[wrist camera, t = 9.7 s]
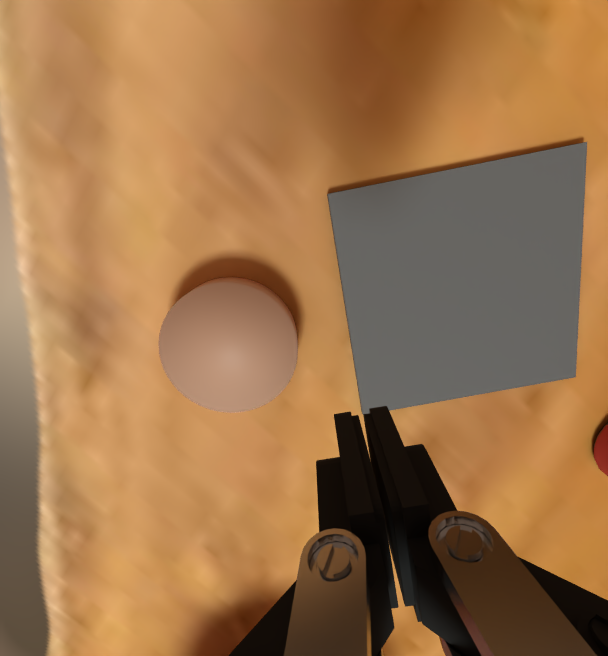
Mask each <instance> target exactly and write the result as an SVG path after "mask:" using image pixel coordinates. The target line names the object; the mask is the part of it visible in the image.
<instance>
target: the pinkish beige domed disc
mask: <svg viewBox="0 0 608 656" xmlns="http://www.w3.org/2000/svg"><path fill="white" fill-rule="evenodd" d="M159 354H160V359H161V363H162V366H163V368H164V371H165V373H166V375H167V376H168V378H169V379H170V381H171V382H172V384H173V385H174V386H175V387H176V388H177V390H178V391H179V392H181V393H182V394H183V395H184V396H185V397H187V398H188V399H189V400H191V401H192V402H194V403H196V404H198V405H200V406H202V407H205V408H207V409H211V410H214V411H220V412H230V413H235V412H244V411H249V410H253V409H256V408H259V407H261V406H263V405H265V404H267V403H268V402H270V401H272V400H273V399H274V398H275V397H277V396H278V395H279V394H280V393H281V392H282V391H283V390H284V389H285V387H286V386H287V384H288V383H289V381H290V379H291V377H292V376H293V373H294V370H295V367H296V363H297V355H298V341H297V330H296V325H295V322H294V319H293V316H292V314H291V312H290V310H289V309H288V307H287V306H286V304H285V303H284V302H283V301H282V299H281V298H280V297H279V296H278V295H277V294H275V293H274V292H273V291H272V290H270V289H269V288H267V287H266V286H264V285H262V284H260V283H258V282H255V281H252V280H249V279H245V278H239V277H224V278H218V279H213V280H210V281H207V282H205V283H203V284H201V285H199V286H197V287H196V288H194V289H193V290H192V291H190V292H189V293H187V294H186V295H185V296H183V297H182V298H180V299H179V300H178V301H177V302H176V303H175V304H174V305H173V307H172V308H171V309H170V310H169V312H168V314H167V315H166V317H165V319H164V321H163V324H162V326H161V330H160V335H159Z"/></svg>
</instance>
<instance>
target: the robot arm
mask: <svg viewBox="0 0 608 656" xmlns="http://www.w3.org/2000/svg"><path fill="white" fill-rule="evenodd" d="M369 412H370V413H368V414H364V422H365V428H366V434H367V441H368V447H369V453H370V457H369V454H368V450H367V446H366V442H365V439H364V435H363V431H362V427H361V424H360V420H359V416H358V415H355V416H352V415H351V412H345V413H339V414H334V419H335V426H336V433H337V440H338V447H339V454H340V457H337V458H330V459H324V460H318V461H316V469H317V491H318V512H319V533H317V534H316V535H314V536H313V537H312V538H311V539H309V541H308V542H307V543H306V545H305V546H304V548H303V551H302V554H301V558H300V564H299V570H298V576H297V580H296V581H295V583H294V584H293V585H292V586H291V587H290V588H289V589H288V590H287V591H286V593H285V594H284V595H283V596H282V597H281V598H280V599H279V600H278V601H277V603H276V604H275V605H274V606H273V607H272V608H271V609H270V610H269V611H268V612H267V614H266V615H265V616H264V617H263V618H262V619H261V620H260V621H259V622H258V624H257V625H256V626H255V627H254V628H253V629H252V630H251V631H250V632H249V634H248V635H247V636H246V637H245V638H244V639H243V640H242V641H241V642H240V644H239V645H238V646H237V647H236V648H235V649H234V650H233V651H232V652H231V654H230V655H229V656H384V654H383V648H382V647H383V645H384V644H385V642H386V640H387V639H388V637H389V636H390V634H391V632H392V631H393V629H394V622H393V616H392V610H391V608H398V601H397V595H396V588H395V582H394V575H393V568H392V562H391V555H390V549H391V553H392V557H393V561H394V565H395V569H396V573H397V577H398V581H399V584H400V588H401V592H402V596H403V600H404V604H405V606H414V609H415V613H416V616H417V620H418V622H421V621H422V624H423V625H425V626H426V627H427V628H429V629H430V630H431V631H433V632H434V633H436V634H437V635H438V636H439V639H440V642H441V645H442V648H443V651H444V653H445V655H446V656H608V600H606V599H603V598H601V597H599V596H597V595H595V594H593V593H591V592H589V591H587V590H585V589H583V588H581V587H579V586H577V585H575V584H573V583H571V582H569V581H567V580H565V579H562V578H560V577H558V576H556V575H554V574H552V573H550V572H548V571H546V570H544V569H542V568H540V567H538V566H536V565H534V564H532V563H530V562H528V561H526V560H524V559H521V558H519V557H517V556H516V554H515V553H514V552H513V551H512V549H511V548H510V547H509V546H508V544H507V543H506V542H505V541H504V539H503V538H502V537H501V536H500V535H499V533H498V532H497V531H496V530H495V528H494V527H493V526H491V525H490V524H489V523H488V522H487V521H486V520H484V519H483V518H481V517H479V516H478V515H475V514H472V513H469V512H464V511H457V509H456V507H455V505H454V503H453V501H452V499H451V497H450V495H449V493H448V492H447V490H446V488H445V486H444V484H443V482H442V480H441V478H440V476H439V474H438V472H437V470H436V468H435V466H434V464H433V462H432V460H431V458H430V457H429V455H428V453H427V451H426V449H425V447H424V445H422V444H419V445H413V446H406V447H404V445H403V442H402V440H401V438H400V435H399V433H398V431H397V428H396V426H395V424H394V421H393V419H392V417H391V414H390V412H389V410H388V407H387V406H381V407H375V408H369ZM370 460H371V461H370ZM388 541H389V542H388ZM389 545H390V549H389Z"/></svg>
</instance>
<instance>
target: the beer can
mask: <svg viewBox="0 0 608 656" xmlns="http://www.w3.org/2000/svg"><path fill="white" fill-rule="evenodd" d="M594 459H595V461H596V463H597V465H598V467H599V469H600V470H601V471H602V472H604V473H605V474H606V475H607V476H608V423H607V424H606V425H605V426H604V427H603V429H602V430H601V432H600V433H599V434H598V436H597V439H596V441H595V444H594Z"/></svg>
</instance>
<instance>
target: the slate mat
mask: <svg viewBox="0 0 608 656" xmlns="http://www.w3.org/2000/svg"><path fill="white" fill-rule="evenodd" d="M586 155H587V142H585V143H580V144H575V145H570V146H565V147H560V148H555V149H550V150H545V151H540V152H535V153H530V154H525V155H520V156H515V157H510V158H505V159H500V160H495V161H490V162H485V163H480V164H475V165H470V166H465V167H460V168H455V169H450V170H445V171H440V172H435V173H430V174H425V175H420V176H415V177H410V178H405V179H400V180H395V181H390V182H385V183H380V184H375V185H370V186H365V187H360V188H355V189H350V190H345V191H340V192H335V193H330V194H327V196H328V202H329V209H330V215H331V221H332V227H333V234H334V240H335V246H336V253H337V259H338V265H339V271H340V278H341V284H342V290H343V297H344V303H345V309H346V316H347V322H348V328H349V334H350V341H351V347H352V353H353V360H354V366H355V372H356V378H357V385H358V391H359V397H360V404H361V410H362V414H363V415H364V414H368V413H370V412H369V408H375V407H381V406H387V407H388V410H395V409H400V408H406V407H411V406H417V405H423V404H428V403H434V402H439V401H445V400H450V399H456V398H462V397H467V396H473V395H478V394H484V393H490V392H495V391H501V390H506V389H512V388H518V387H523V386H529V385H534V384H540V383H545V382H551V381H557V380H562V379H568V378H573V377H576V360H577V339H578V319H579V298H580V278H581V257H582V237H583V216H584V196H585V175H586Z"/></svg>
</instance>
